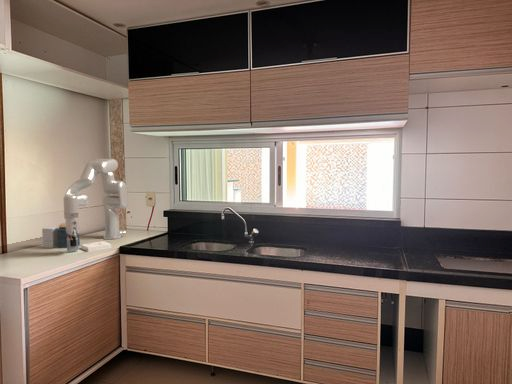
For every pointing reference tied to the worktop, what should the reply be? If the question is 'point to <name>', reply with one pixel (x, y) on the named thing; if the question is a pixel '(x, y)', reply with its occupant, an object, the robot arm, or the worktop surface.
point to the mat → (72, 252)
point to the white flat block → (95, 246)
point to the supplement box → (50, 237)
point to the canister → (64, 236)
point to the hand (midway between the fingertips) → (72, 245)
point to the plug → (69, 248)
